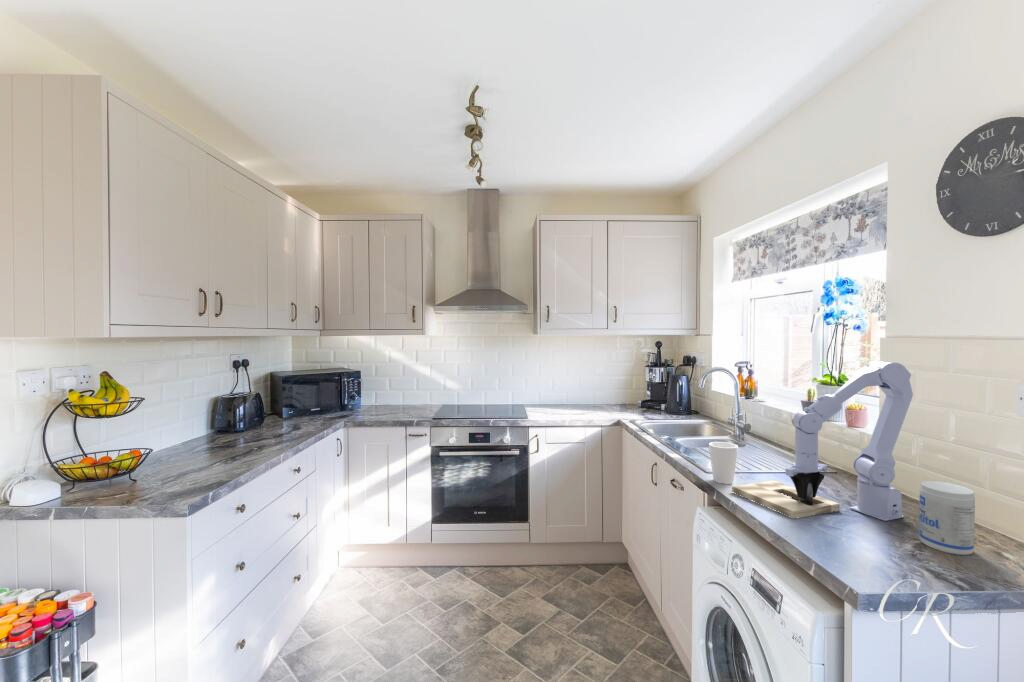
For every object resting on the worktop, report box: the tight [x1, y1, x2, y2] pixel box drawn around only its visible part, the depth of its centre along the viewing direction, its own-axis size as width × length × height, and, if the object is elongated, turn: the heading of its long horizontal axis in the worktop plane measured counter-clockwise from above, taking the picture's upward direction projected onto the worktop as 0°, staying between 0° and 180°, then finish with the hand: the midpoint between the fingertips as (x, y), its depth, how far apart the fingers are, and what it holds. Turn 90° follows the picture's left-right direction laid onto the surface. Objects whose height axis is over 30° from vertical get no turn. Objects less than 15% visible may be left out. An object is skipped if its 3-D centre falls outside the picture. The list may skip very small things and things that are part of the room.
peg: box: [798, 481, 815, 505], centre depth 131 cm, size 5×5×8 cm
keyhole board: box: [731, 480, 840, 519], centre depth 136 cm, size 22×18×2 cm
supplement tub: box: [918, 480, 976, 556], centre depth 106 cm, size 10×10×15 cm
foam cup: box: [708, 441, 739, 485], centre depth 155 cm, size 10×9×13 cm
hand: (806, 497), depth 131 cm, fingers closed on peg, 3 cm apart
